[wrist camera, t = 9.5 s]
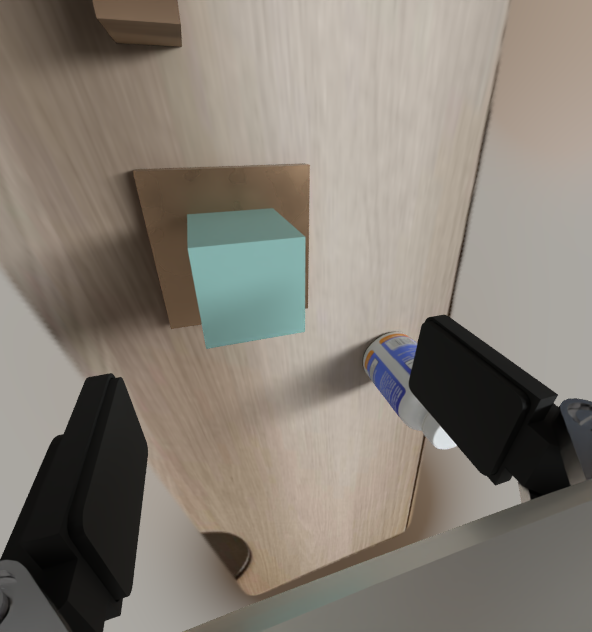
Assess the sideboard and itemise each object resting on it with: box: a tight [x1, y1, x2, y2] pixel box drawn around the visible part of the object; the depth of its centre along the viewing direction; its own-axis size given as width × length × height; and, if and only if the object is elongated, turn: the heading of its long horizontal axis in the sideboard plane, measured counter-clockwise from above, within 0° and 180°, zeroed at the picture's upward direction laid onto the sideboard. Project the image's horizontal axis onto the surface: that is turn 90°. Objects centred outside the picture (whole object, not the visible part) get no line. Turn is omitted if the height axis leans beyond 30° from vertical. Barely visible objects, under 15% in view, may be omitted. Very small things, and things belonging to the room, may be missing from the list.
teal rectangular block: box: [187, 208, 305, 349], centre depth 18 cm, size 5×5×7 cm
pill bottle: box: [363, 332, 457, 449], centre depth 27 cm, size 5×5×10 cm
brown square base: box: [133, 164, 310, 329], centre depth 19 cm, size 10×10×7 cm
